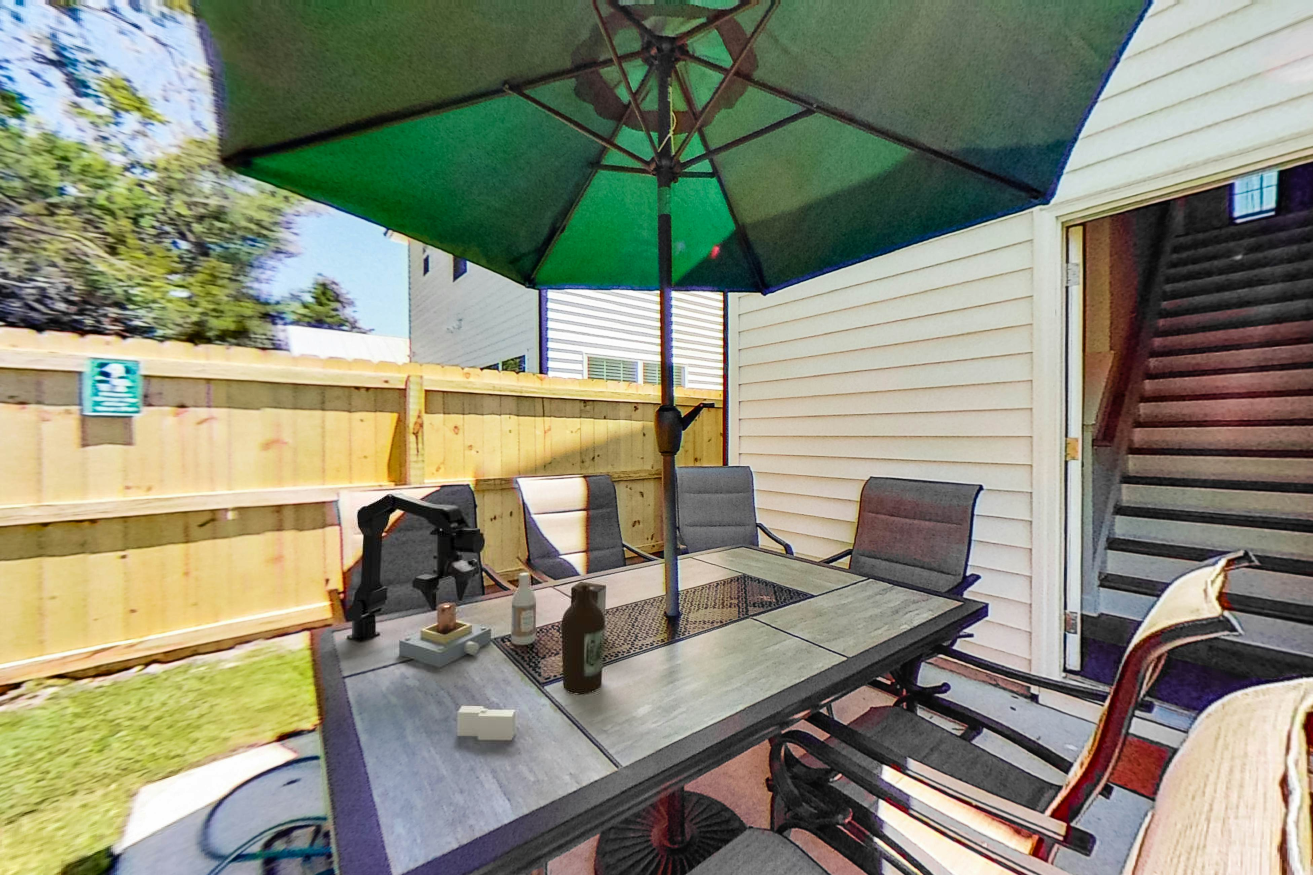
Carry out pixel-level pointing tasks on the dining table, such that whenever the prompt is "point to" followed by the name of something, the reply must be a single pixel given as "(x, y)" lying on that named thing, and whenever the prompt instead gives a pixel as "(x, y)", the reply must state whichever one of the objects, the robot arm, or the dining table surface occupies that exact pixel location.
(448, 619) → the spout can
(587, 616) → the olive oil
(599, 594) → the coffee box
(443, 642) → the grey plate with frame
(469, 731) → the white stepped block
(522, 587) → the bath foam
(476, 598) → the dining table surface
